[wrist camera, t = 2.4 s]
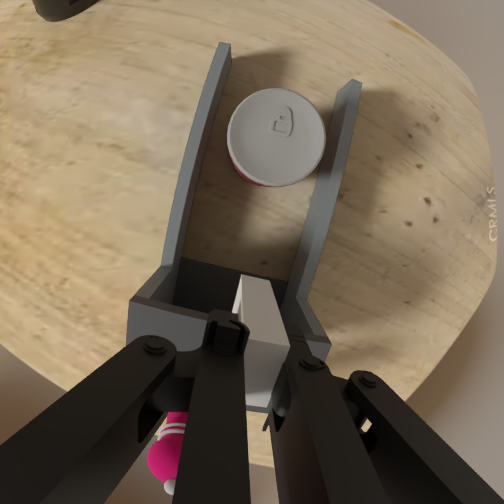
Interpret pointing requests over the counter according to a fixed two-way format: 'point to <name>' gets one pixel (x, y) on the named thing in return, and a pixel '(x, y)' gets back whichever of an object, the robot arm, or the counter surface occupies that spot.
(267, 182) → the canned food
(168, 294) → the trap channel
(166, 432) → the pepper mill
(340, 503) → the robot arm
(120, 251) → the counter surface
